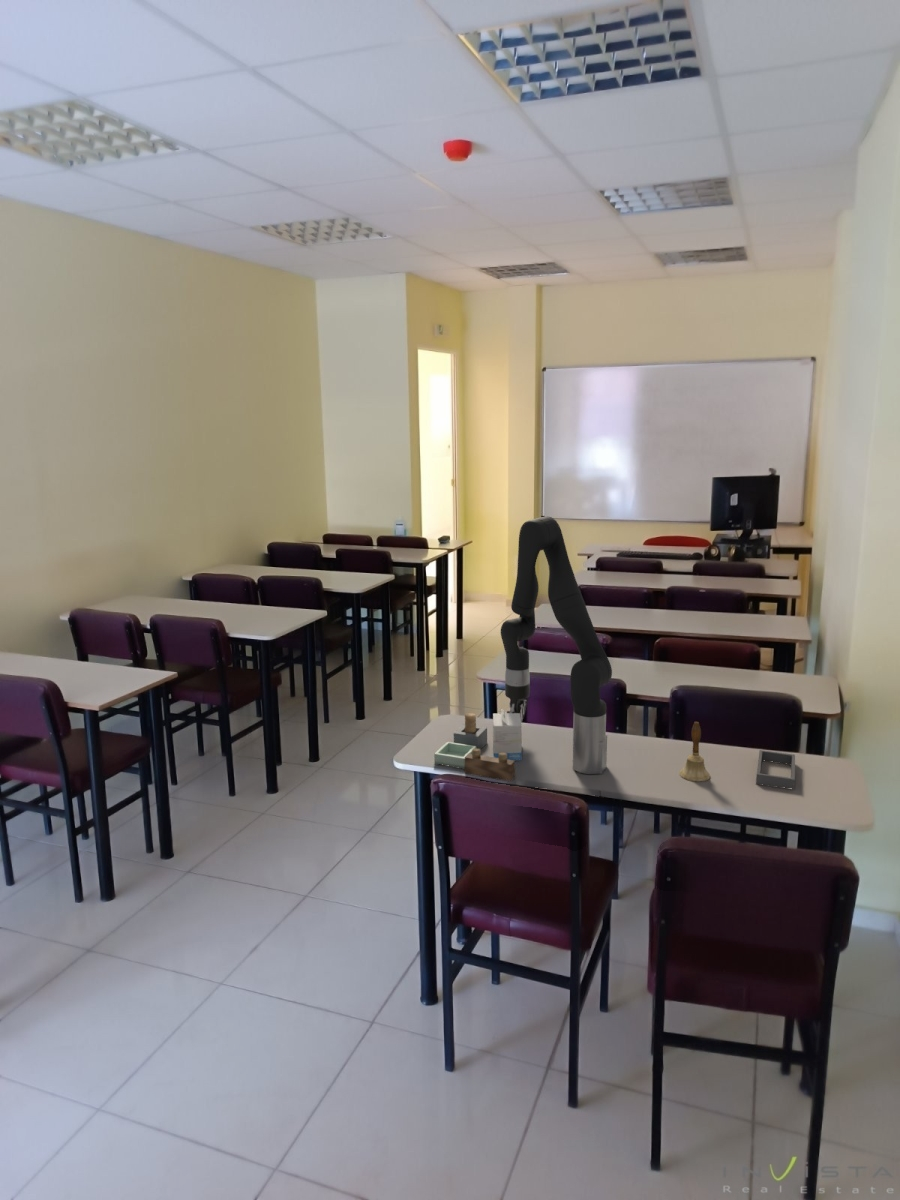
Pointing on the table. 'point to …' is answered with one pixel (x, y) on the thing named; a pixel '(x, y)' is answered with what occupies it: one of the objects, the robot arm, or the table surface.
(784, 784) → the frame
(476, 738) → the socket block
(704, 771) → the hand bell
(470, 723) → the dowel
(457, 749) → the tray
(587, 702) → the robot arm
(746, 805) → the table surface
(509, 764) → the peg rack
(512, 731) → the ink box
